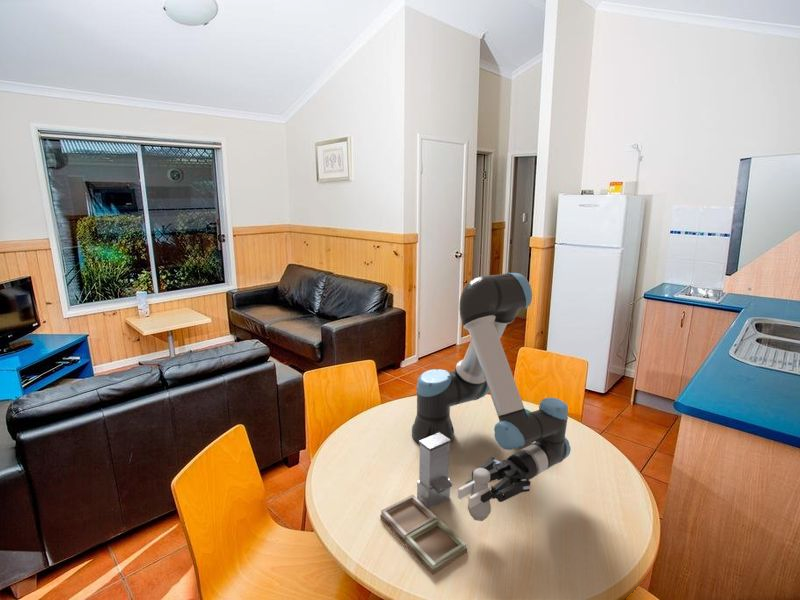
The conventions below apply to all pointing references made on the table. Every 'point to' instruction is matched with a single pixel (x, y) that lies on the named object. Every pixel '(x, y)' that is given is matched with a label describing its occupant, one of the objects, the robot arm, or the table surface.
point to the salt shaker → (481, 483)
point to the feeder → (434, 470)
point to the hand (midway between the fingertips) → (464, 498)
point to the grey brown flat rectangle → (423, 533)
